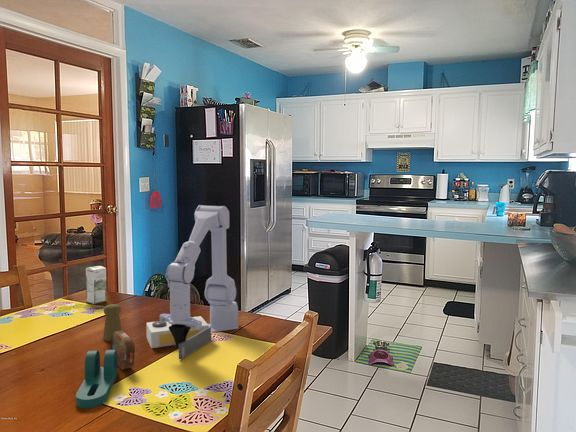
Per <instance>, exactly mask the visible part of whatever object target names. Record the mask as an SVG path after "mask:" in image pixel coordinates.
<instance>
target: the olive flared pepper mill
mask: <svg viewBox="0 0 576 432" xmlns="http://www.w3.org/2000/svg"><path fill="white" fill-rule="evenodd" d="M121 311H122V307H121V306H120V304H118V303H117V304H116V303H111V304H107V305H105V307H104V309H103V313H104V315H105V320H104V329H103V341H106V342H111V336H112V333H113V332H114V331H115V332H117V331H123V328H122V323H121V316H120V314H121V313H122V312H121Z"/></svg>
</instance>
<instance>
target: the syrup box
mask: <svg viewBox="0 0 576 432" xmlns="http://www.w3.org/2000/svg"><path fill="white" fill-rule="evenodd" d="M85 294H86V295H85V296H86V297H85V299H86V302H87V303H88V304H89V303H90V304H93V305H96V304H100V303H104V302H107V268H106V267H104V266H103V265H96V266H89V267H85Z"/></svg>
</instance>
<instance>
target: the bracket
mask: <svg viewBox="0 0 576 432" xmlns="http://www.w3.org/2000/svg"><path fill="white" fill-rule="evenodd" d="M84 359H85V360H84V380H83V381H82V383H81V385H80V386H79V388H78V390H77V392H76V393H75V405H76V406H77V407H78V408H80V409H92V408H97V407H99V406H101V405H103V404H105V403H106V402H107V400H108V397H109V395H110V393H111V390H112V388H113V387H114V383H115V382H116V379H117V377H118V375H119V366H118V354H117V350H111V349H106V350H105V353H104V358H103V366H101V354H100V351H99V350H88V351H87V352H86V356H85V358H84ZM92 394H93V395H92Z"/></svg>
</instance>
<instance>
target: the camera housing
mask: <svg viewBox="0 0 576 432" xmlns="http://www.w3.org/2000/svg"><path fill="white" fill-rule="evenodd" d="M191 317H192V316H191ZM192 318H194V319H196V320H199V321H202V328H200V329H198V330H197V329H195V328H192V327H191V328H190V330H189V332H188V334H187V337H186V340H187V339H188V338H190V337H192V336H194V335H195V334H197V333H199V332H201V331H202V330H204V329H206V328H208V327H209V325H208V324H209V323H207V321H205V319H204V318H203V317H202V316H201V315H199V316H193V317H192ZM169 326H172V324H169V322H166V321H163V322H161V321H160V320H157V321H156V320H155V321H149V322H146V340H147V342H148V344H149V347H150V348H151V349H156V348H163V347H170V346H176V343H175V340H174V337H173V335H172V333H171V332H170V330H169Z"/></svg>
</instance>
